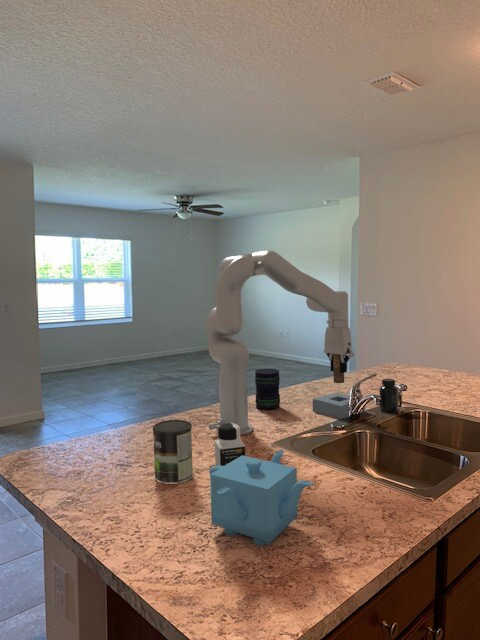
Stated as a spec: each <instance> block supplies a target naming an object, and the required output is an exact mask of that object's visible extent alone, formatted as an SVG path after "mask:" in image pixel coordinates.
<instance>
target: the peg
mask: <svg viewBox="0 0 480 640" xmlns="http://www.w3.org/2000/svg"><path fill="white" fill-rule="evenodd" d="M340 363H341V356H340V355H337V354H333V371H332V372H333V383H334V384H344V383H345V373H341V372H340Z"/></svg>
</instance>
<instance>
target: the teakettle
mask: <svg viewBox="0 0 480 640" xmlns="http://www.w3.org/2000/svg"><path fill="white" fill-rule="evenodd" d="M283 455H284V450H283V449H280V450H276V452H274V454H273V455H272V458H271V460H269V461H268V460H265V459H258V458H255V457H250V456H247V455H245V456H240V457H239V458H237V459H235V460H233V461H232V462H230V463H228V464H227V465H225V466H216V465H213V466H212V467H211V468H210V469H209V480H210V481H209V483H210V485H209V486H210V488H209V489H210V510H211V511H210V512H211V515H210V517H211V524H212V525H214V526H217V527H220V528H223V529H225V530H224V534H225V535H227V536H236V535H237V534H240V535H243V536H246V537H249V538H252V539H253V544H254V545H256V546H258V547H259V546H260V547H263V546H266V545H268V544H271V543H272V541H274V540H275V539H276V538H277V537H278V536H279V535H280V534H281V533H282V532H283V531H284V530H285V529H286V528H287V527H288V526H289V525H290V524H291V523H292V522H293V521H295V520H296V519H297V518H298V505H299V502H300V499H301V495H302V492H303V490H304V489H305V488H307V487H310V486H312V485H314V482H312V481H309V480H299V481H298V476H297V475H298V472H297V471H298V469H297V467H296V466H295V467H294V466H290V465H285V464H283V463H282V464H281V460H282V458H283Z"/></svg>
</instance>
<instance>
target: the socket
mask: <svg viewBox="0 0 480 640" xmlns="http://www.w3.org/2000/svg"><path fill="white" fill-rule="evenodd" d="M350 396H351V395H350V394H345V393H340V392H333V393H329V394H326V395H322V396H319V397H314V398H312V412H314V413H316V414H321V415H324V416H328V417H331V418H334V419H339V420H343V419H342V418H344V419H346V418H345V417H347V418H349V417H348V416H349V411H350V407H349V400H350ZM365 412H366V405H365V406H364V408H363V409H362V411H361V413H360V414H362V413H365Z"/></svg>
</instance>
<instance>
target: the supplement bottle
mask: <svg viewBox="0 0 480 640" xmlns="http://www.w3.org/2000/svg"><path fill="white" fill-rule="evenodd" d="M380 398H381V405H380V404H379V410H380V411H381V412H383V413H397V412H398V411H399V388H398V387H397V386H396V380H395V378H383V379H381V386H380V387H379V399H380Z"/></svg>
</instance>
